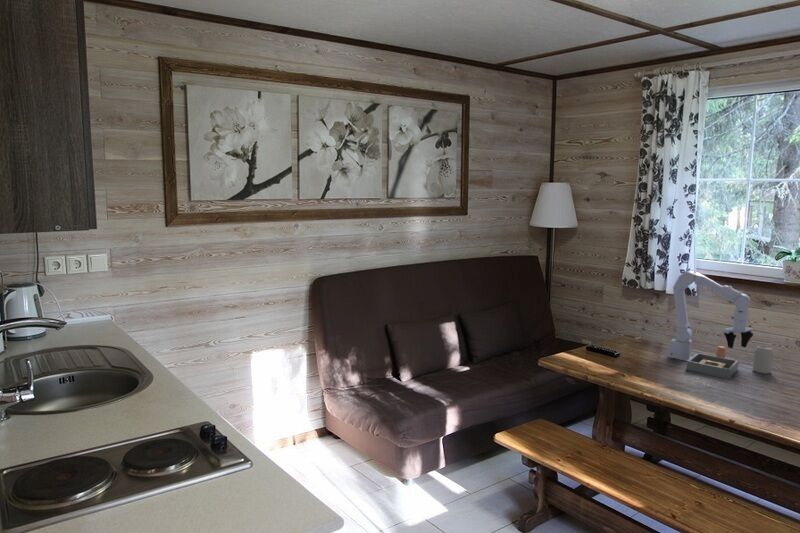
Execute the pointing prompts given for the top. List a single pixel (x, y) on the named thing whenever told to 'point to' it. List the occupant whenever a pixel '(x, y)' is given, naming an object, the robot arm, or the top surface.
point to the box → (712, 365)
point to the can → (763, 359)
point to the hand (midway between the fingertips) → (736, 347)
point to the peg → (721, 351)
